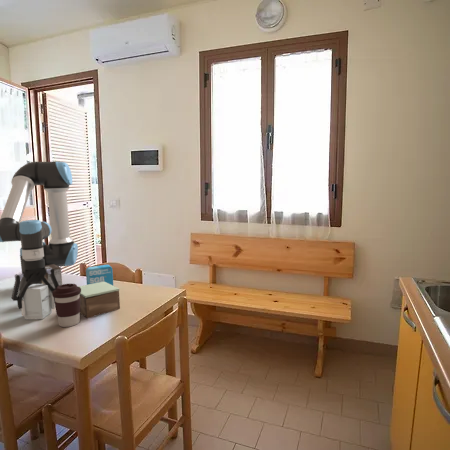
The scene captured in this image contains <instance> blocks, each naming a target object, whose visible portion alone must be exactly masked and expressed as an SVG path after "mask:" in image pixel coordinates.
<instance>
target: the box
mask: <svg viewBox="0 0 450 450" xmlns="http://www.w3.org/2000/svg"><path fill="white" fill-rule="evenodd" d="M120 309H121V301H120V290H119V291H114V292H110V293H105V294H101V295H96V296H91V297H87V298H85V297H83V296H81V295H80V315H82V316H84V317H85V318H87V319H90V318H93V317H96V316H99V315H102V314H103V315H104V314H107V313H109V312H110V313H111V312H113V311H114V312H115V311H117V310H120Z"/></svg>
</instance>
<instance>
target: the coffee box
mask: <svg viewBox="0 0 450 450" xmlns="http://www.w3.org/2000/svg"><path fill="white" fill-rule="evenodd" d="M50 268H52V269H54V275H55V277H56V280H57V282H58V284H59V286H60V285H63V277H62V266H57V265H55V264H52V265H47V266H45V269H50ZM44 277H45V279H46V280H47V281H48V282H49V283H50V285H51V286H52V287H53V288H55V286H54V284H53V282H52V279H51V277H50V275H49V274H48V272H47V273H46V274H45V276H44ZM41 282H42V284H44V282H43V281H42V280H41ZM50 292H51V290H50ZM54 304H55V300H54Z"/></svg>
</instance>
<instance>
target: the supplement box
mask: <svg viewBox="0 0 450 450" xmlns="http://www.w3.org/2000/svg"><path fill="white" fill-rule="evenodd" d="M22 299H23V300H24V305H25V315H26V316H25V317H24V320H43V319H45V318H46V317H47V316H48V315H50V314H51V313H52V312H53V309H52V307H51V295H50V289H49V287H48V285H46V284H32V285H30V286H29V287H28V289H27V290H26V292H25V294H24V296H23V298H22Z"/></svg>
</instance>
